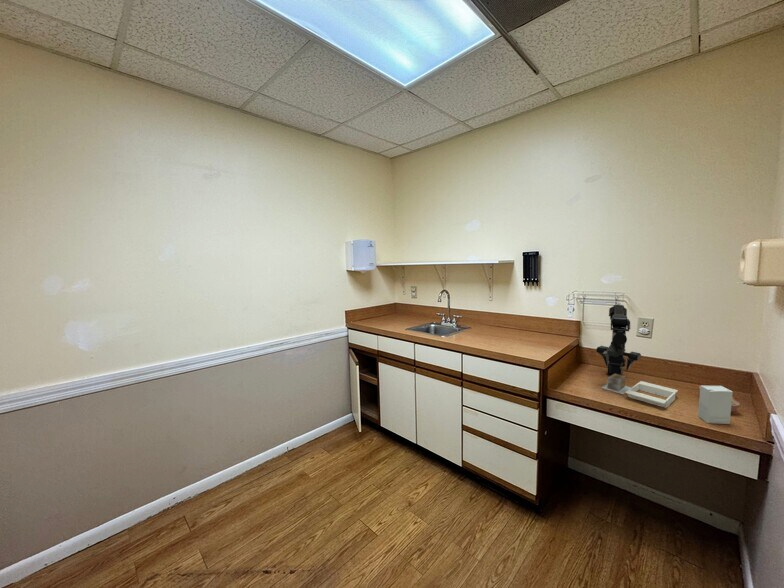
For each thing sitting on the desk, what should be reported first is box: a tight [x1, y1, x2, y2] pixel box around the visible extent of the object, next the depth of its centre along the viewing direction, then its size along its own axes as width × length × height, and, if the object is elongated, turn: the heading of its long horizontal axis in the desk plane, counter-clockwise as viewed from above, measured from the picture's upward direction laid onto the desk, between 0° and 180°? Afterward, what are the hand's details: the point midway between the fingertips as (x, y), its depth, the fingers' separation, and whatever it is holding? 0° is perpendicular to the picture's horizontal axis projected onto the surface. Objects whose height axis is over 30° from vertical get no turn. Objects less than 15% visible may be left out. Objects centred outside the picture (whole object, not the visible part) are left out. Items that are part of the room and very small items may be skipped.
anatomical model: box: [698, 384, 741, 413], centre depth 149 cm, size 23×10×5 cm, turn 151°
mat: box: [600, 383, 632, 395], centre depth 169 cm, size 10×12×1 cm
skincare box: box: [697, 385, 734, 425], centre depth 134 cm, size 8×6×15 cm
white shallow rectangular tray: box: [624, 380, 679, 409], centre depth 157 cm, size 15×22×4 cm
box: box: [607, 374, 626, 391], centre depth 169 cm, size 5×9×6 cm, turn 126°
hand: (616, 368), depth 167 cm, fingers open, 9 cm apart
